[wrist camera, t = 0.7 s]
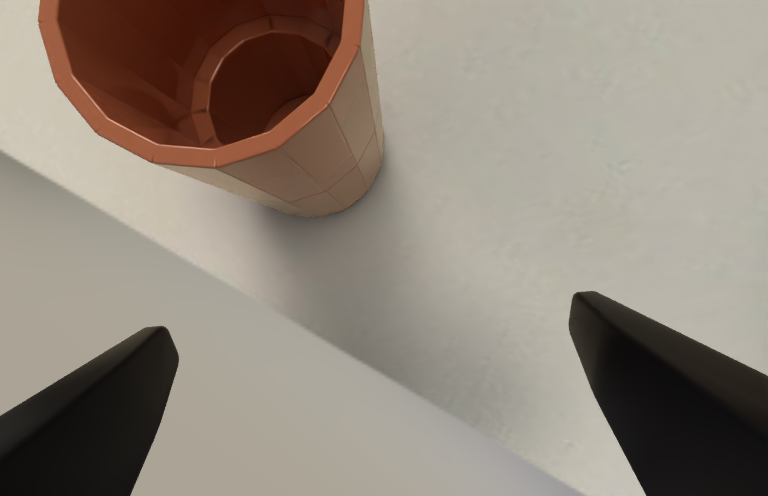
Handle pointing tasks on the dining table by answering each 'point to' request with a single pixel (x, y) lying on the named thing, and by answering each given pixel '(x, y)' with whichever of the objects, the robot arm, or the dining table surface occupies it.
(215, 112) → the orange faceted cup
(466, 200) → the dining table surface
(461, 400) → the dining table surface
